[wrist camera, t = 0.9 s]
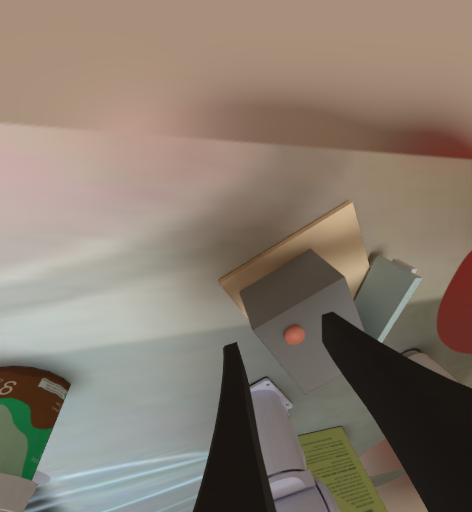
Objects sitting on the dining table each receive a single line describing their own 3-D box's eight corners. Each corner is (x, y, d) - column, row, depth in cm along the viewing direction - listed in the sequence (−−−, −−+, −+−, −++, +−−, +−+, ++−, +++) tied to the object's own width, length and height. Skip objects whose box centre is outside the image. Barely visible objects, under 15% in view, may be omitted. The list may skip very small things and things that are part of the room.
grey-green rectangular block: (353, 321, 26) (383, 351, 22) (343, 321, 25) (371, 352, 21) (388, 254, 22) (431, 276, 18) (377, 253, 21) (418, 275, 18)
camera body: (345, 327, 26) (381, 368, 21) (289, 359, 27) (312, 405, 22) (311, 248, 20) (351, 280, 15) (238, 291, 20) (254, 336, 16)
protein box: (266, 442, 37) (310, 607, 24) (341, 424, 41) (418, 562, 27) (260, 468, 42) (294, 620, 28) (328, 451, 45) (388, 580, 32)
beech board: (381, 321, 28) (384, 324, 28) (291, 371, 29) (292, 375, 29) (348, 200, 19) (352, 202, 19) (218, 280, 20) (219, 283, 20)
